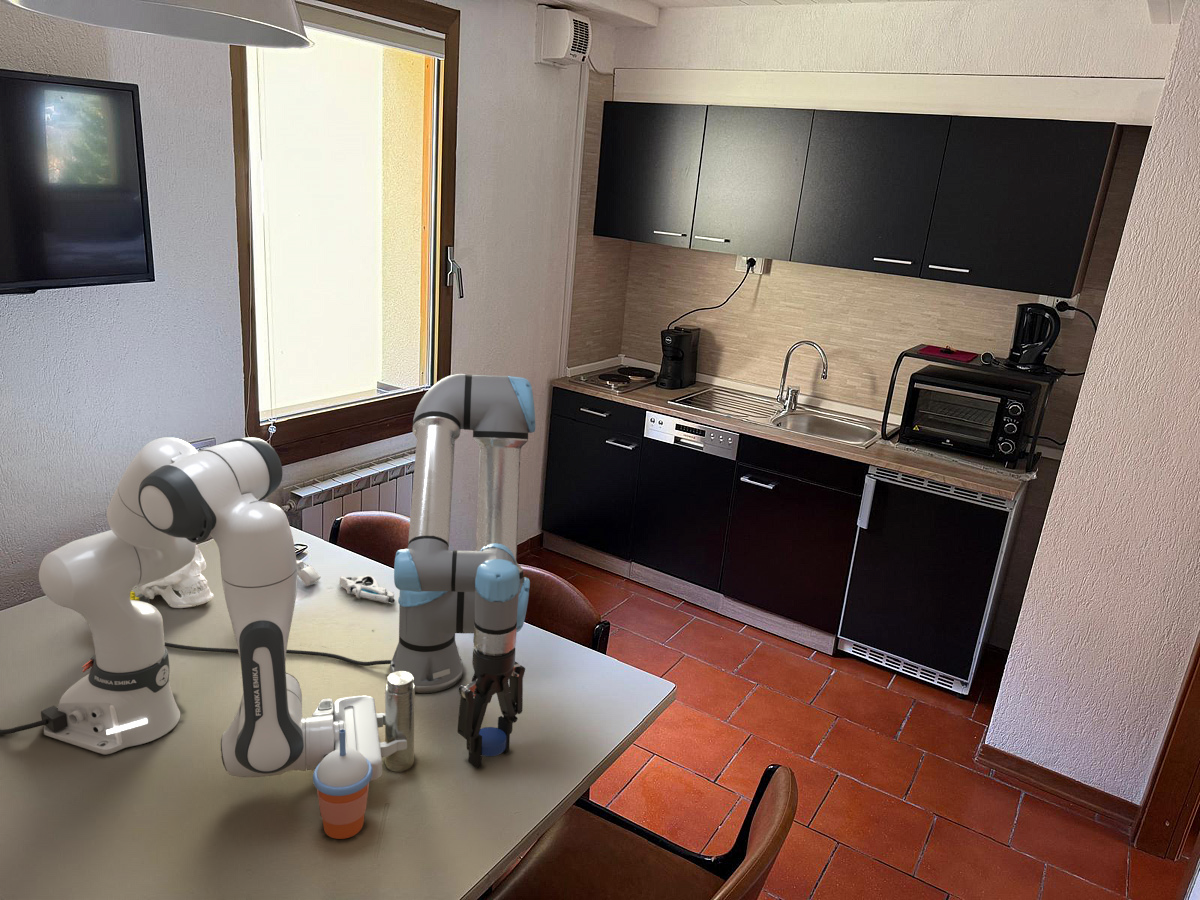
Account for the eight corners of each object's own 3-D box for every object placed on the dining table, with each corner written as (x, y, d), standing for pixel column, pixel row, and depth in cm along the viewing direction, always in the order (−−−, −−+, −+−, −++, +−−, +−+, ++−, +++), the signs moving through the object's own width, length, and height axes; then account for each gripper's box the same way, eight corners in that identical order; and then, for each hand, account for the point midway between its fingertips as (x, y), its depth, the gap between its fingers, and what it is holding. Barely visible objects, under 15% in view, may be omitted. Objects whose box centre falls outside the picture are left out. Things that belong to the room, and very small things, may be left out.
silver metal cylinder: (418, 766, 154) (419, 681, 149) (391, 775, 151) (392, 688, 146) (406, 750, 158) (407, 667, 153) (380, 759, 155) (380, 674, 150)
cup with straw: (356, 851, 133) (355, 754, 128) (303, 839, 135) (300, 742, 130) (382, 812, 142) (382, 719, 137) (331, 801, 143) (330, 709, 138)
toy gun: (412, 588, 214) (383, 600, 205) (411, 597, 215) (383, 610, 206) (358, 568, 223) (329, 579, 214) (358, 577, 223) (328, 588, 215)
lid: (501, 734, 161) (502, 724, 160) (509, 753, 156) (510, 744, 155) (469, 738, 159) (470, 729, 158) (477, 759, 154) (477, 749, 153)
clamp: (253, 565, 223) (254, 542, 221) (265, 560, 226) (266, 537, 224) (309, 593, 215) (310, 569, 213) (320, 588, 218) (321, 564, 216)
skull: (192, 617, 196) (189, 553, 192) (115, 598, 202) (111, 536, 198) (232, 595, 209) (230, 534, 205) (158, 577, 214) (155, 518, 210)
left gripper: (324, 764, 138) (411, 752, 143) (322, 693, 157) (399, 685, 161) (325, 796, 140) (411, 784, 144) (323, 722, 159) (399, 713, 163)
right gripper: (521, 621, 160) (514, 727, 167) (437, 654, 147) (434, 768, 154) (548, 637, 156) (540, 746, 162) (464, 672, 142) (459, 789, 149)
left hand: (404, 731), depth 153 cm, fingers closed on silver metal cylinder, 5 cm apart
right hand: (488, 756), depth 158 cm, fingers closed on lid, 6 cm apart
